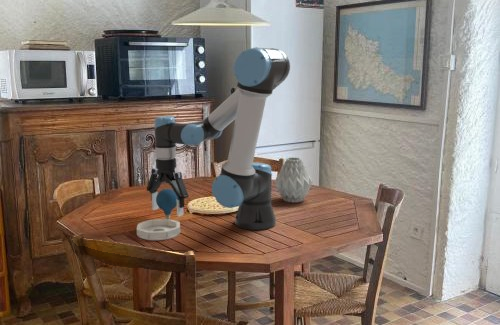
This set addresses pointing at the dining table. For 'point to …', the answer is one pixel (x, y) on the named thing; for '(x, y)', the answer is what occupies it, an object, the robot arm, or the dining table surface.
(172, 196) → the light bulb
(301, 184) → the vase
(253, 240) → the dining table surface
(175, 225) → the lamp base
